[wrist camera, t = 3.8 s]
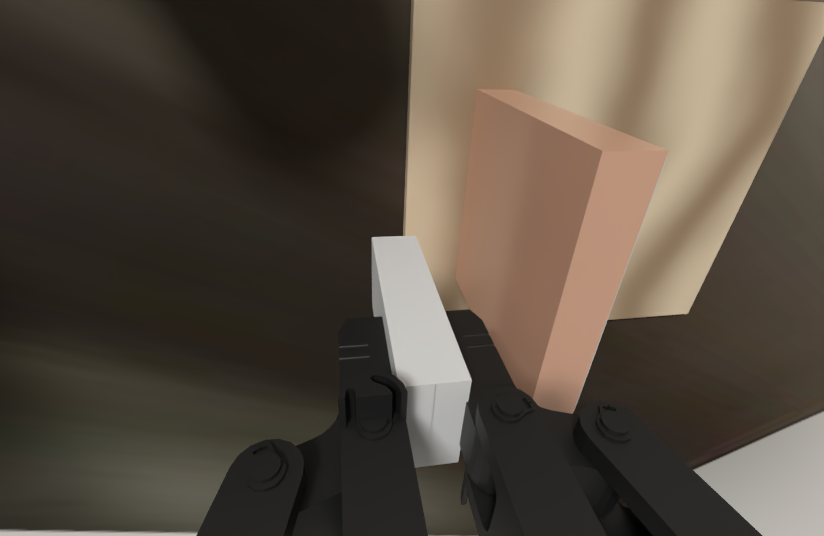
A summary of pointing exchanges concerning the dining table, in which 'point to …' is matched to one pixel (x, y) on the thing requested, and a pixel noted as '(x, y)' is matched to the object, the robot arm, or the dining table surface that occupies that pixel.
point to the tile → (549, 235)
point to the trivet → (610, 113)
